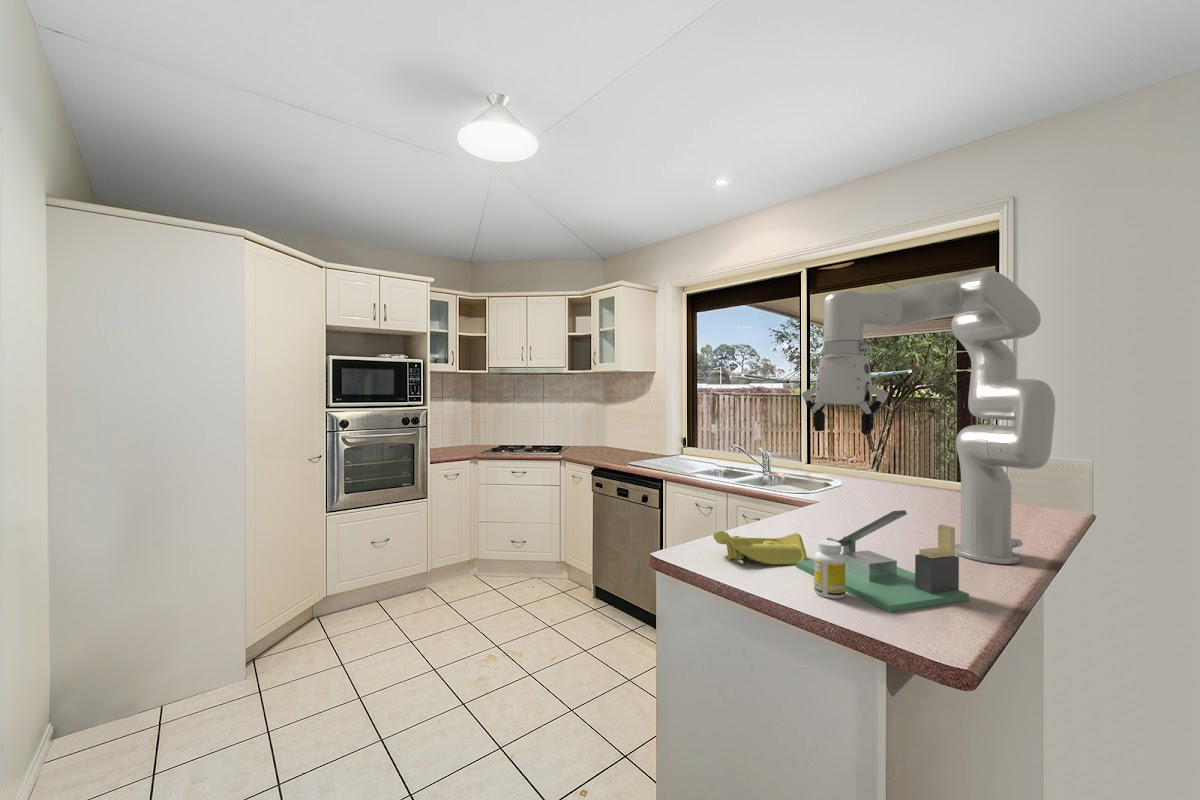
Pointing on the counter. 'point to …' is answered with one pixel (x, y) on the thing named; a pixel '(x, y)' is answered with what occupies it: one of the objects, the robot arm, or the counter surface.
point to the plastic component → (764, 548)
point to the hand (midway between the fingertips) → (842, 432)
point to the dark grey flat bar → (872, 527)
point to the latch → (942, 544)
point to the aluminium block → (870, 565)
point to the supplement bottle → (829, 570)
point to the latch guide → (936, 574)
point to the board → (890, 589)
